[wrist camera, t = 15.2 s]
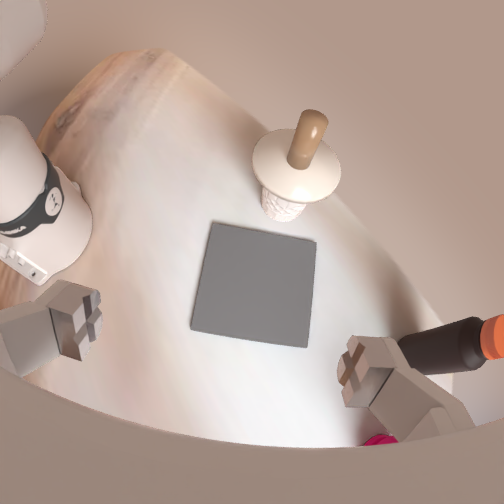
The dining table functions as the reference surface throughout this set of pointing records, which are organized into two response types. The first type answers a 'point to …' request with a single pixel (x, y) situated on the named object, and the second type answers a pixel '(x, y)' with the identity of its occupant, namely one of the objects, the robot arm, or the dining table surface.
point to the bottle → (455, 346)
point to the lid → (297, 161)
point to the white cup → (280, 207)
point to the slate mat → (256, 287)
